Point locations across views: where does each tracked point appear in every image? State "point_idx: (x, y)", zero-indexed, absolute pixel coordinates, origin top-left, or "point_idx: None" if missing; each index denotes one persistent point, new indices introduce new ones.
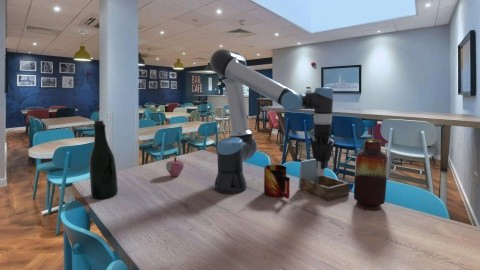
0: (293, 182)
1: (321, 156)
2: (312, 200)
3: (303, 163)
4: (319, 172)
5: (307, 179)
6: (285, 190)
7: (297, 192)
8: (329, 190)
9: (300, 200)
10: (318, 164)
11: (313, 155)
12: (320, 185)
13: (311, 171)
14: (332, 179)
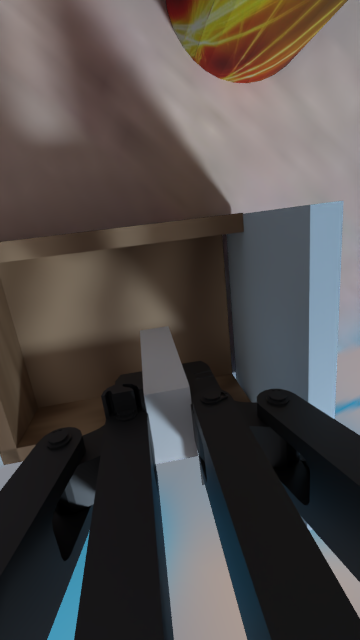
0: (343, 265)
1: (129, 459)
2: (30, 163)
3: (297, 229)
4: (145, 341)
5: (241, 286)
6: (187, 20)
7: (190, 168)
8: None
9: (57, 81)
10: (169, 371)
11: (305, 412)
12: (23, 241)
13: (260, 338)
14: None
